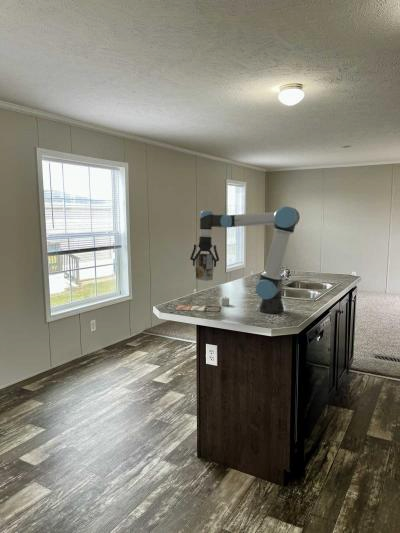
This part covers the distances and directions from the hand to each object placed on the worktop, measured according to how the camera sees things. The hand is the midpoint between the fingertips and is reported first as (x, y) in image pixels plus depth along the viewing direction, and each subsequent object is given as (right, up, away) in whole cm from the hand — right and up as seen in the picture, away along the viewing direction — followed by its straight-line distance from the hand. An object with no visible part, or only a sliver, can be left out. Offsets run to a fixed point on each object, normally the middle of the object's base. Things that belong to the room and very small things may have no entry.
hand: (204, 271), depth 241 cm
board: (-4, -23, +3) cm, 24 cm away
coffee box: (0, -5, +1) cm, 5 cm away
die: (+13, -22, +15) cm, 30 cm away
